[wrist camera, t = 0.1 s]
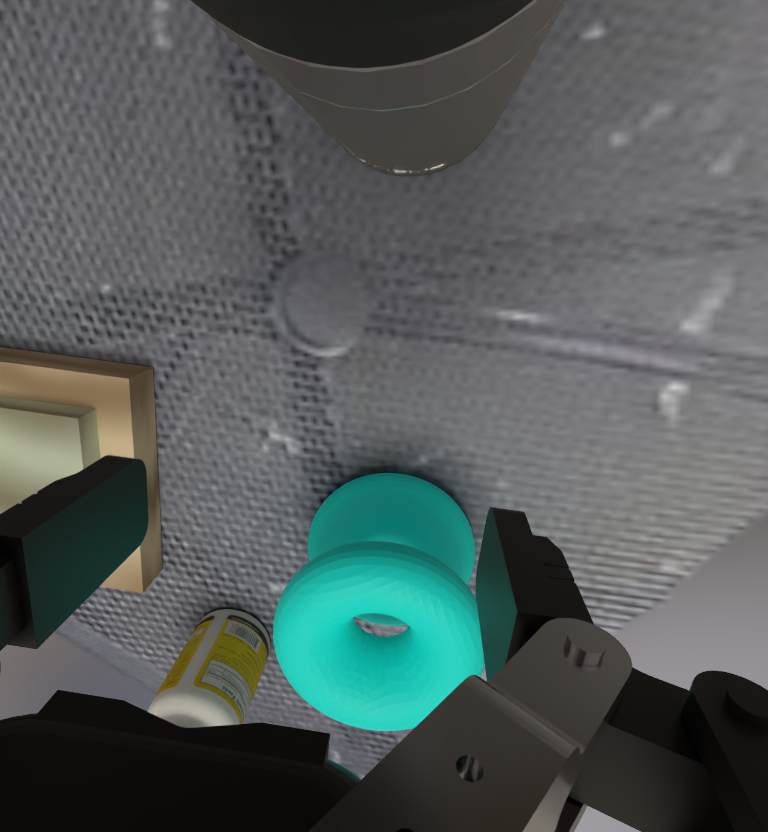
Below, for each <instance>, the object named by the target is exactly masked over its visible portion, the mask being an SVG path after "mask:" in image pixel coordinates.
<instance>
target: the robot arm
mask: <svg viewBox="0 0 768 832" xmlns="http://www.w3.org/2000/svg"><path fill="white" fill-rule="evenodd" d="M191 1H192V2H193V3H195V4H196V5H197V6H198V7H199V8H200V9H201V10H202V11H203V12H204V13H205V14H206V15H207V16H208V17H210V18H211V19H212V20H213V21H214V22H215V23H216V24H217V25H218V26H219V27H220V28H221V29H222V30H223V31H224V32H225V33H226V34H227V35H228V36H229V37H230V38H231V39H232V40H233V41H234V42H235V43H237V44H238V45H239V46H240V47H241V48H242V49H243V50H244V51H245V52H246V53H247V54H248V55H249V56H250V57H251V58H252V59H253V60H254V61H255V62H256V63H257V64H258V65H259V66H260V67H262V68H263V69H264V70H265V71H266V72H267V73H268V74H269V75H270V76H271V77H272V78H273V79H274V80H275V81H276V82H277V83H278V84H279V85H280V86H282V87H283V88H284V89H285V90H286V91H287V92H288V93H289V94H290V95H291V96H292V97H293V98H294V99H295V100H296V101H297V102H298V103H299V104H300V105H301V106H302V107H303V108H304V109H305V110H306V111H307V112H308V113H309V114H310V115H311V116H312V117H313V118H314V119H315V120H316V121H317V122H318V123H319V124H320V125H321V126H322V127H323V128H325V129H326V130H327V131H328V132H329V133H330V134H331V135H332V136H333V137H334V138H335V139H336V140H337V141H338V142H339V143H340V144H341V145H342V146H343V147H344V148H345V149H346V150H347V151H349V152H350V153H351V155H352V156H354V157H355V158H357V159H358V160H360V161H361V162H362V163H364V164H366V165H368V166H370V167H372V168H375V169H377V170H379V171H381V172H385V173H389V174H394V175H398V176H421V175H425V174H430V173H434V172H438V171H441V170H443V169H445V168H447V167H449V166H451V165H453V164H455V163H457V162H459V161H460V160H462V159H463V158H464V157H466V156H467V155H468V154H469V153H471V152H472V151H473V150H474V149H476V148H477V147H478V145H479V144H480V143H481V142H482V141H483V140H484V138H485V137H486V136H487V135H488V134H489V133H490V131H491V130H492V128H493V127H494V125H495V123H496V122H497V120H498V118H499V117H500V115H501V113H502V112H503V110H504V108H505V107H506V105H507V104H508V102H509V101H510V99H511V97H512V95H513V94H514V92H515V90H516V88H517V87H518V85H519V83H520V81H521V80H522V78H523V76H524V74H525V73H526V71H527V69H528V67H529V66H530V64H531V62H532V60H533V59H534V57H535V55H536V53H537V52H538V50H539V48H540V47H541V45H542V43H543V41H544V40H545V38H546V36H547V34H548V33H549V31H550V29H551V27H552V26H553V24H554V22H555V20H556V19H557V17H558V15H559V13H560V12H561V10H562V8H563V6H564V5H565V3H566V1H567V0H191ZM148 522H149V517H148V494H147V472H146V466H145V463H144V462H143V461H142V460H141V459H135V458H128V457H120V456H113V455H106V456H104V457H102V458H101V459H99V460H97V461H96V462H94V463H93V464H91V465H89V466H88V467H86V468H84V469H83V470H81V471H80V472H78V473H76V474H73V475H70V476H67V477H64V478H61V479H59V480H56V481H54V482H52V483H51V484H49V485H47V486H46V487H44V488H42V489H41V490H39V491H37V494H32V495H31V496H29V497H27V498H26V499H24V500H23V501H22V503H21V504H19V503H18V504H16V505H14V506H13V507H11V508H9V509H8V510H6V511H4V512H3V513H1V514H0V651H1V650H2V649H3V648H4V647H5V646H6V645H7V644H8V645H13V646H20V647H27V648H33V649H37V648H38V647H39V646H40V645H41V644H42V643H43V642H44V641H45V640H46V639H47V638H48V637H49V636H50V635H51V634H52V633H53V632H54V631H55V630H56V629H57V628H58V627H59V626H60V625H61V624H62V623H63V622H64V621H65V620H66V619H67V618H68V617H69V616H70V615H71V614H72V613H73V612H74V611H75V610H76V609H77V608H78V607H79V606H80V605H81V604H82V603H83V602H84V601H85V600H86V599H87V598H88V597H89V596H90V595H91V594H92V593H93V592H94V591H95V590H96V589H97V588H98V587H99V586H100V585H101V584H102V583H103V582H104V581H105V580H106V579H107V578H108V577H109V576H110V575H111V574H112V573H113V572H114V571H115V570H116V569H117V568H118V567H119V566H120V565H121V564H122V563H123V562H124V561H125V560H126V559H127V558H128V557H129V556H130V555H131V554H132V553H133V552H134V551H135V550H136V549H137V548H138V547H139V546H140V545H141V543H142V542H143V540H144V538H145V535H146V532H147V529H148ZM476 601H477V609H478V616H479V624H480V631H481V639H482V647H483V654H484V662H485V670H486V677H487V682H486V681H484V680H483V679H481V678H480V677H479V676H477V675H471V676H469V677H468V678H466V679H465V680H464V681H463V682H462V683H460V684H459V685H458V686H457V687H456V688H455V689H454V690H453V691H452V692H451V693H450V694H449V695H448V696H447V697H446V698H445V699H444V700H443V701H442V702H441V703H440V704H439V705H438V706H437V707H436V708H435V709H434V710H433V711H432V712H431V713H430V714H429V715H428V716H427V717H426V718H424V719H423V720H422V721H421V722H420V723H419V724H418V725H417V726H416V727H415V728H414V729H413V730H412V731H411V732H410V733H409V734H408V735H407V736H406V737H405V738H404V739H403V740H402V741H401V742H400V743H399V744H398V745H397V746H396V747H395V748H394V749H393V750H392V751H391V752H390V753H389V754H387V755H386V756H385V757H384V758H383V759H382V760H381V761H380V762H379V763H378V764H377V765H376V766H375V767H374V768H373V769H372V770H371V771H370V772H369V773H368V774H367V775H366V776H365V777H364V778H363V779H362V780H361V779H360V778H359V777H357V776H356V775H355V774H354V773H352V772H351V771H349V770H347V769H346V768H344V767H343V766H341V765H340V764H337V763H335V762H333V761H331V760H329V759H328V750H329V740H330V734H329V733H323V732H317V731H310V730H304V729H298V728H292V727H286V726H279V725H273V724H267V723H250V724H237V725H223V726H209V727H195V728H185V727H180V726H177V725H175V724H173V723H171V722H168V721H166V720H164V719H162V718H160V717H158V716H156V715H153V714H151V713H149V712H147V711H145V710H143V709H141V708H138V707H136V706H134V705H132V704H130V703H127V702H126V701H123V700H117V699H111V698H105V697H99V696H93V695H86V694H80V693H74V692H68V691H61V690H57V692H56V693H55V694H54V695H53V696H52V697H51V698H50V700H49V701H48V702H47V703H46V704H45V705H44V707H43V708H42V709H41V710H40V711H39V713H37V714H28V715H22V716H16V717H11V718H7V719H3V720H0V832H574V831H575V829H576V827H577V825H578V823H579V821H580V819H581V817H582V815H583V813H584V812H585V810H586V808H587V806H590V807H592V808H594V809H596V810H598V811H600V812H602V813H604V814H606V815H608V816H610V817H612V818H614V819H616V820H618V821H621V822H623V823H625V824H627V825H629V826H631V827H633V828H635V829H637V830H639V831H641V832H768V690H766V689H765V688H763V687H761V686H760V685H758V684H756V683H754V682H752V681H750V680H748V679H745V678H743V677H740V676H737V675H734V674H731V673H727V672H721V671H705V672H702V673H700V674H698V675H697V676H696V677H695V678H694V680H693V683H692V685H691V688H690V690H689V691H688V690H686V689H683V688H681V687H678V686H675V685H673V684H670V683H668V682H665V681H662V680H659V679H657V678H654V677H652V676H649V675H647V674H645V673H642V672H640V671H638V670H636V669H635V668H633V667H632V662H631V658H630V656H629V654H628V652H627V651H626V649H625V648H624V647H623V645H622V644H621V643H620V642H619V641H618V640H617V639H616V638H615V637H613V636H612V635H611V634H609V633H608V632H606V631H605V630H603V629H601V628H600V627H598V626H596V625H594V623H593V621H592V619H591V617H590V614H589V612H588V610H587V607H586V605H585V603H584V601H583V598H582V596H581V594H580V592H579V589H578V587H577V585H576V583H574V578H573V576H572V573H571V571H570V570H569V567H568V564H567V562H566V560H565V557H564V555H563V553H562V551H561V550H560V549H559V548H558V547H557V546H555V545H554V544H553V543H552V542H551V541H550V540H549V539H548V538H547V537H543V536H535V535H533V534H532V532H531V529H530V526H529V523H528V521H527V518H526V515H525V513H524V512H521V511H514V510H507V509H499V508H492V507H491V508H490V509H489V511H488V515H487V519H486V524H485V529H484V535H483V540H482V545H481V551H480V556H479V561H478V567H477V574H476ZM0 672H1V662H0Z"/></svg>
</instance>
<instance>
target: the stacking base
mask: <svg viewBox="0 0 768 832" xmlns="http://www.w3.org/2000/svg"><path fill="white" fill-rule="evenodd" d="M106 455H113V456H120V457H128V458H135V459H141V460H142V461H143V462H144V463H145V466H146V472H147V494H148V517H149V522H148V529H147V532H146V535H145V538H144V540H143V542H142V543H141V545H140V546H139V547H138V548H137V549H136V550H135V551H134V552H133V553H132V554H131V555H130V556H129V557H128V558H127V559H126V560H125V561H124V562H123V563H122V564H121V565H120V566H119V567H118V568H117V569H116V570H115V571H114V572H113V573H112V574H111V575H110V576H109V577H108V578H107V579H106V580H105V581H104V582H103V583H102V584H101V585H100V586H102V587H109V588H115V589H122V590H128V591H134V592H141V593H143V592H144V591H145V590H146V589H147V587H148V586H149V585H150V584H151V582H152V581H153V580H154V579H155V577H156V576H157V575H158V574H159V572H160V571H161V570H162V569H163V560H162V539H161V518H160V498H159V477H158V457H157V436H156V416H155V395H154V375H153V367H147V366H140V365H132V364H125V363H117V362H110V361H102V360H95V359H87V358H80V357H72V356H65V355H57V354H50V353H43V352H35V351H28V350H20V349H13V348H5V347H0V514H1V513H3V512H4V511H6V510H8V509H9V508H11V507H13V506H14V505H16V504H18V503H19V504H21V503H22V501H23V500H24V499H26V498H27V497H29V496H31V495H32V494H37V491H39V490H41V489H42V488H44V487H46V486H47V485H49V484H51V483H52V482H54V481H56V480H59V479H61V478H64V477H67V476H70V475H73V474H76V473H78V472H80V471H81V470H83V469H84V468H86V467H88V466H89V465H91V464H93V463H94V462H96V461H97V460H99V459H101V458H102V457H104V456H106Z"/></svg>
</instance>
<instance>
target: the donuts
mask: <svg viewBox="0 0 768 832" xmlns="http://www.w3.org/2000/svg"><path fill="white" fill-rule="evenodd" d="M308 557H309V562H308V563H307V564H306V565H305V566H303V567H302V568H301V569H300V570H299V571H298V572H297V573H296V574H295V576H294V577H293V578H292V579H291V581H290V582H289V583H288V585H287V586H286V588H285V589H284V591H283V593H282V595H281V597H280V600H279V602H278V605H277V608H276V612H275V616H274V624H273V641H274V647H275V652H276V655H277V659H278V662H279V664H280V667H281V669H282V671H283V673H284V675H285V677H286V678H287V680H288V681H289V683H290V684H291V685H292V687H293V688H294V689H295V690H296V691H297V693H298V694H299V695H300V696H301V697H302V698H303V699H305V700H306V701H307V702H308V703H309V704H310V705H311V706H313V707H314V708H316V709H317V710H319V711H320V712H322V713H323V714H325V715H327V716H329V717H331V718H333V719H335V720H337V721H339V722H342V723H345V724H347V725H351V726H354V727H358V728H363V729H369V730H378V731H398V730H406V729H411V728H415V727H416V726H417V725H418V724H419V723H420V722H421V721H422V720H423V719H424V718H426V717H427V716H428V715H429V714H430V713H431V712H432V711H433V710H434V709H435V708H436V707H437V706H438V705H439V704H440V703H441V702H442V701H443V700H444V699H445V698H446V697H447V696H448V695H449V694H450V693H451V692H452V691H453V690H454V689H455V688H456V687H457V686H458V685H459V684H460V683H462V682H463V681H464V680H465V679H466V678H468V677H469V676H471V675H477V676H479V677H480V676H481V673H482V670H483V667H484V663H485V662H484V654H483V647H482V639H481V631H480V624H479V616H478V609H477V601H476V598H475V596H474V595H473V593H472V591H471V590H470V589H469V587H468V586H467V584H468V582H469V580H470V578H471V575H472V572H473V568H474V563H475V542H474V536H473V532H472V529H471V526H470V524H469V522H468V520H467V518H466V516H465V514H464V513H463V511H462V510H461V508H460V507H459V506H458V505H457V503H456V502H455V501H454V500H453V499H452V498H451V497H450V496H449V495H448V494H447V493H445V492H444V491H443V490H441V489H440V488H438V487H437V486H435V485H433V484H431V483H430V482H427V481H425V480H423V479H420V478H417V477H414V476H410V475H405V474H399V473H377V474H371V475H366V476H362V477H359V478H357V479H354V480H352V481H350V482H348V483H346V484H344V485H342V486H341V487H340V488H338V489H337V490H336V491H334V492H333V493H332V494H331V495H330V496H329V497H328V498H327V499H326V500H325V501H324V502H323V503H322V505H321V506H320V508H319V509H318V511H317V513H316V515H315V517H314V519H313V521H312V524H311V527H310V531H309V536H308ZM353 617H357V618H359V619H362V620H364V621H367V622H371V623H375V624H380V625H389V626H400V625H409V627H408V628H407V629H406V630H405V631H404V632H402V633H401V634H398V635H395V636H390V637H379V636H375V635H372V634H370V633H367V632H366V631H364V630H363V629H361V628H360V627H359V626H358V625H357V624H356V623H355V621H354V618H353Z"/></svg>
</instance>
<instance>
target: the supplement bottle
mask: <svg viewBox="0 0 768 832" xmlns="http://www.w3.org/2000/svg"><path fill="white" fill-rule="evenodd" d="M269 651H270V640H269V636H268V633H267V631H266V629H265V628H264V627H263V625H262V624H261V623H260V622H259V621H258V620H257V619H255V618H254V617H252V616H251V615H249V614H247V613H245V612H242V611H238V610H232V609H222V610H217V611H214V612H211V613H209V614H208V615H206V616H205V617H203V618H202V619H201V620H200V622H199V623H198V625H197V626H196V628H195V629H194V631H193V633H192V634H191V636H190V638H189V640H188V641H187V643H186V645H185V647H184V648H183V650H182V652H181V653H180V655H179V657H178V658H177V660H176V662H175V664H174V665H173V667H172V669H171V670H170V672H169V674H168V676H167V677H166V679H165V681H164V682H163V684H162V686H161V687H160V689H159V691H158V692H157V694H156V696H155V698H154V699H153V702H152V703H151V705H150V707H149V709H148V712H149V713H151V714H153V715H156V716H158V717H160V718H162V719H164V720H166V721H168V722H171V723H173V724H175V725H177V726H180V727H185V728H195V727H209V726H223V725H237V724H243V723H244V720H245V717H246V714H247V712H248V709H249V707H250V704H251V701H252V698H253V696H254V693H255V691H256V688H257V685H258V682H259V680H260V677H261V674H262V672H263V669H264V666H265V664H266V661H267V658H268V655H269Z"/></svg>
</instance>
